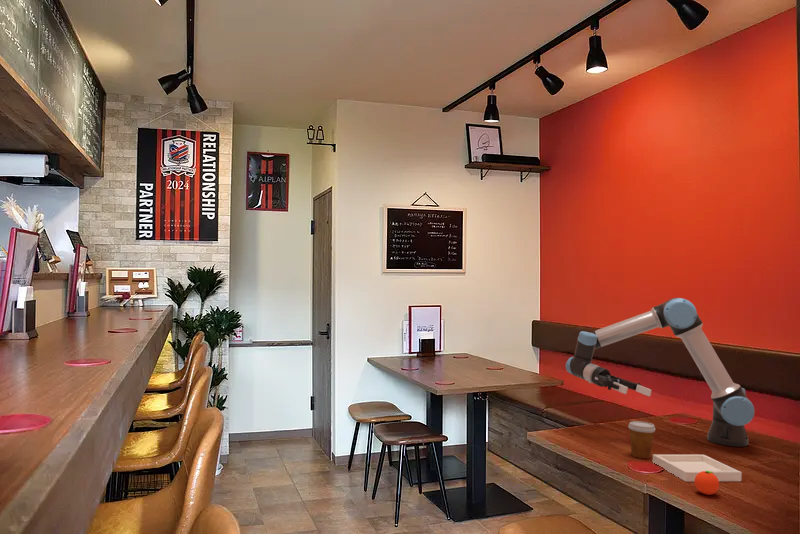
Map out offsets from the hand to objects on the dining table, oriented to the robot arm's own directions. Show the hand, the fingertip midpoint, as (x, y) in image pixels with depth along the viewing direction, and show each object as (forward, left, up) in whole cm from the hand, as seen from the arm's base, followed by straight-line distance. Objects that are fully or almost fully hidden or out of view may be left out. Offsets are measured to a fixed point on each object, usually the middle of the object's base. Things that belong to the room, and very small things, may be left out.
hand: (638, 392), depth 239 cm
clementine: (+2, +45, -23) cm, 51 cm away
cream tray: (-8, +24, -23) cm, 34 cm away
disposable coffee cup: (+2, +6, -23) cm, 24 cm away
